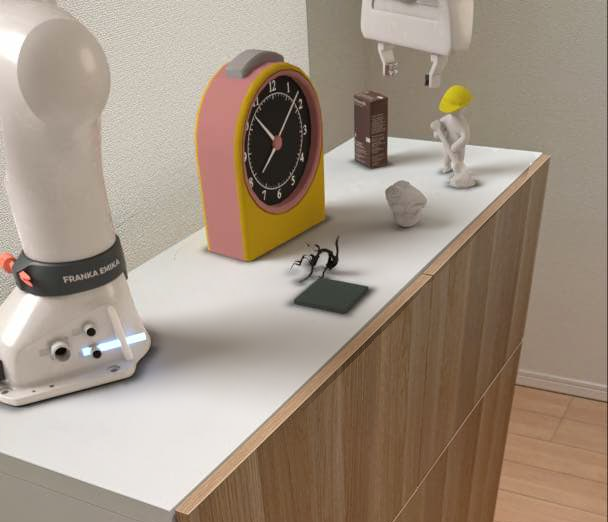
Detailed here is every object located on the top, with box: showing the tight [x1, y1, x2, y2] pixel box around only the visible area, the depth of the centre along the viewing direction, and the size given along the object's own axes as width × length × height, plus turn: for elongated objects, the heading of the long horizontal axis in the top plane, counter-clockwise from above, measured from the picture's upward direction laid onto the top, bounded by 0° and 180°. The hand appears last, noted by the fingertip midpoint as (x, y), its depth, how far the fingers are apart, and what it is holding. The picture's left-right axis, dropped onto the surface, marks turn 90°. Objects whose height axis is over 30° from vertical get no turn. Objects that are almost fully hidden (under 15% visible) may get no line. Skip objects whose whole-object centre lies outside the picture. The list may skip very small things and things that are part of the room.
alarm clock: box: [194, 48, 326, 262], centre depth 120 cm, size 21×9×26 cm, turn 143°
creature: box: [290, 235, 341, 283], centre depth 115 cm, size 8×5×8 cm
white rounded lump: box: [384, 179, 428, 228], centre depth 126 cm, size 6×7×7 cm
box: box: [353, 90, 389, 169], centre depth 149 cm, size 6×4×12 cm
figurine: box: [430, 84, 477, 189], centre depth 139 cm, size 10×9×15 cm
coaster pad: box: [293, 276, 369, 315], centre depth 111 cm, size 8×8×1 cm
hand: (410, 82), depth 114 cm, fingers open, 8 cm apart
